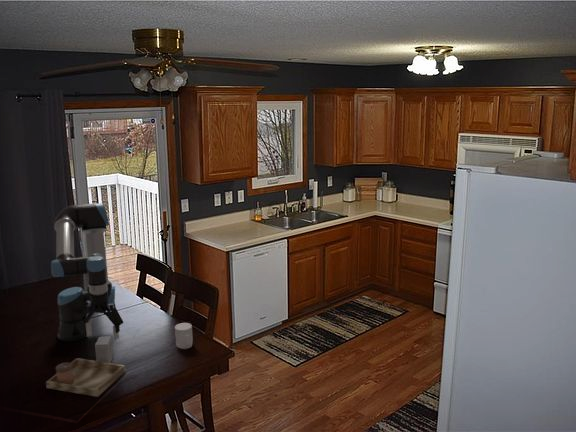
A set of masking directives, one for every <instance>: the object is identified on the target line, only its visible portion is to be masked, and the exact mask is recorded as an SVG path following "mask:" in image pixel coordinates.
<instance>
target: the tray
mask: <svg viewBox="0 0 576 432" xmlns="http://www.w3.org/2000/svg"><path fill="white" fill-rule="evenodd" d="M70 363H72V366H73V367H72V370H73V379H74V383H73V384H72V385H70V384H64V383H58V379H57V373H55V374H54V375H53V376H52V377H50V378H49V379H48V380H47V381H45V386H46V389H52V390H56V391H62V392H67V393H73V394H80V395H86V396H89V397H90V396H91V397H95V398H96V397H97V398H98V397H99V396H101V394H103V393H104V392H105V391H106V390H107V389H108V388H109V387H110V386H111V385H112V384H114V382H116V381H117V380H118V379H119V378H120V377H121V376H122V375H123V374H124V373H125V372H126V365H125V364H119V363H118V364H117V363H113V362H110V363H107V362H100V361H96V360H93V359H86V358H79V357H76V358H75V359H74V360H72V361H71V362H70Z"/></svg>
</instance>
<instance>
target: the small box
mask: <svg viewBox="0 0 576 432" xmlns="http://www.w3.org/2000/svg"><path fill="white" fill-rule="evenodd" d="M94 348H95V350H94V351H95V358H96V359H95V361H100V362H107V363H112V362H113V361H112V360H113V358H114V351H113V349H114V348H113V337H112V336H109V335H107V336H105V335H104V336H99V337H98V338H97V341H96V342H95V343H94Z"/></svg>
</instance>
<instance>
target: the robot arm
mask: <svg viewBox="0 0 576 432" xmlns="http://www.w3.org/2000/svg"><path fill="white" fill-rule="evenodd" d="M53 222H54V225H53V228H54V231H55V232H56V238H55V239H56V242H55V245H56V247H55V250H56V251H55V252H56V254H55V255H56V256H55V257H56V258H55V259H54V260H51V262H50V270H51V276H52V277H54V278H59V277H62V278H64V277H71V276H78V275H86V274H87V280H88V283H87V286H86V288H87V289H84V290H83V288H82V287H81V286H73V287H69V288H66V289H63V290H62V291H60V292H59V293H58V295H57V306H58V313H59V314H58V315H59V326H58V329H57V330H58V331H57V338H58V340H60V341H61V342H76V341H79V340H83V339H85V338H87V337H88V338H89V337H91V336H92V335H93V331H92V330H93V329H92V320H91V318H92V317H93V316H94V314H95V313H96V314H103V315H105V316H106V317H107V319H108V320H109V321H110V322H111V323H112V324H113V326H112V333H113V341H117V340H118V339H120V335H119V332H120V330H121V329H120V328H121V327H120V326H121V325H123V324H124V320H123V319H122V316H121V315H120V313H119V311H118V309H117V307H116V303H115V301H116V286H114V285H113V283H112V282H111V281H109V276H108V275H109V274H108V266H107V265H108V264H107V253H106V244H105V234H104V233H105V232H106V231H107V227H108V226H110V222H109V216H108V214H107V209H106V206H105V204H104V203H95V202H93V203H84V204H71V205H69V206H66V207H64V208H63V209H61V210H60V212H59V213H58V214H57V215H56V217H55V218H54V221H53ZM76 229H81V232H82V233H83V234H85V242H86V243H85V244H86V252H87V255H86V256H79V257H75V237H74V235H75V233H74V231H75V230H76Z"/></svg>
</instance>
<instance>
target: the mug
mask: <svg viewBox="0 0 576 432" xmlns="http://www.w3.org/2000/svg"><path fill="white" fill-rule="evenodd" d="M174 336H175V346H176V347H177V348H179V349H182V350H187V349H189V348H192V346H193V341H194V340H193V339H194V338H193V326H192V323H190V322H181V323H177V324H176V325H175V326H174Z"/></svg>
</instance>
